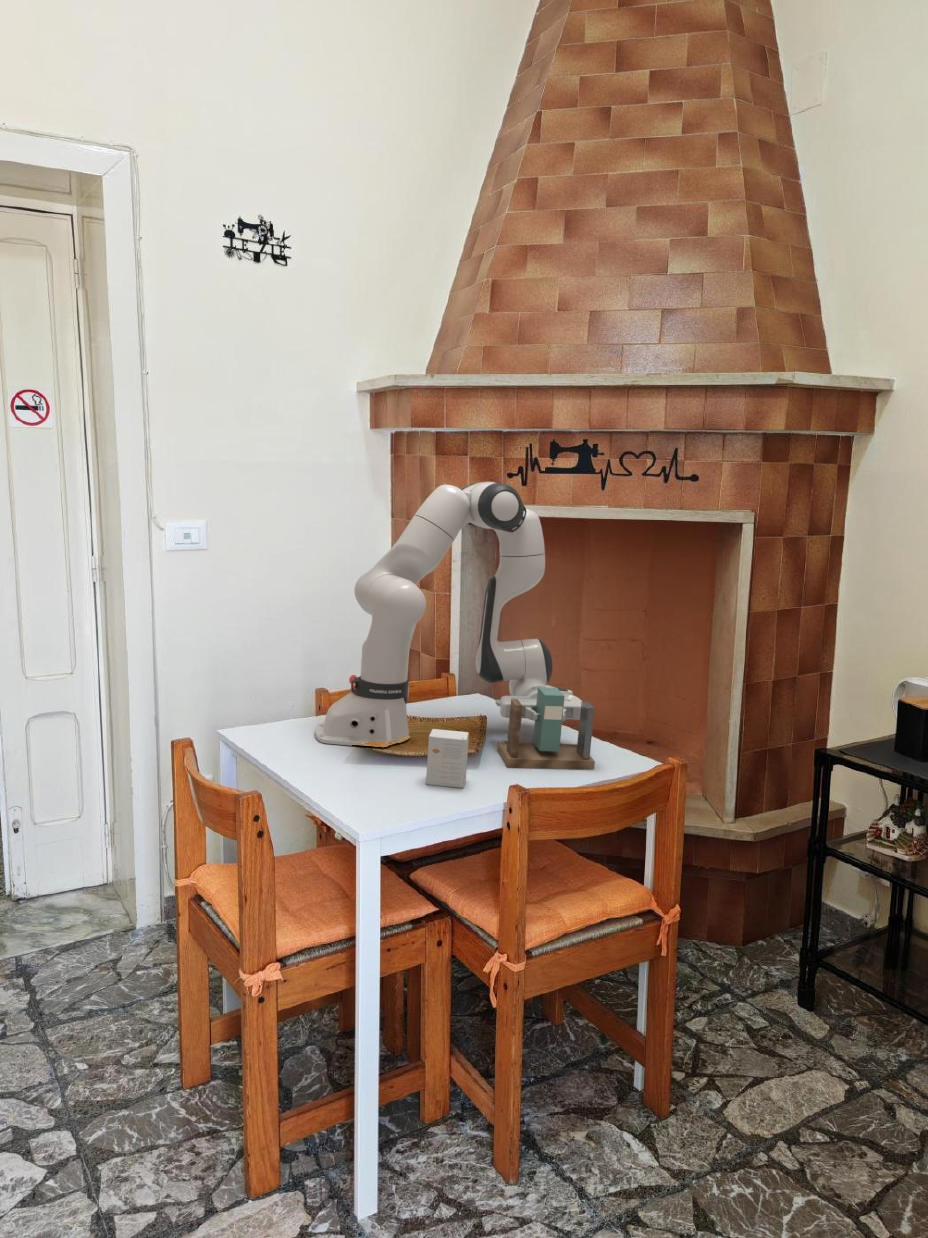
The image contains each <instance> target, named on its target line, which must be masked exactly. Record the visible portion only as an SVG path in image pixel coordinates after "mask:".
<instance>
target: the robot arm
mask: <svg viewBox="0 0 928 1238" xmlns="http://www.w3.org/2000/svg"><path fill="white" fill-rule="evenodd" d="M522 500H523V499H522V498H521V496H520V494H519V492H518V491H517V489H515V488H514V487H512V486H511V485H509V484H507V483H504V482H494V481H481V482H473V483H470V484H468V485H466V486H464V487H462V488H460V487H458V486H456V485H452V484H441V485H439V486H437V487H436V488H435V489H434V490H433V491H432V492H431V493H430V494H429V496H427V498H426V499H425V500H424V501H423V503H421V505H420V507H419V508H418V510H416V512H415V513H414V515H413V517H412V518H411V520H410V521H409V523H408V524H407V526H406V527H405V529H404V530H403V532H402V533H401V535H400V536H399V538H398V539H397V540H396V542H395V543H394V544H393V545H392V547H391V548H390V549H389V550H388V551H387V552H386V554H384V555H383V556H382V558H380V559H379V560H378V561H377V563H375V564H374V565H373V567H372V568H370V569H369V570H368V571H367V572H365V573H363V574H362V575H361V576H360V577H359V578H358V579H357V581H356V583H355V586H354V596H355V600H356V601H357V603H358V605H359V606H360V607H361V609H362V610H363V611H364V612H365V613H367V614H369V615H370V616H371V623H370V628H369V631H368V634H367V637H366V639H365V641H364V642H363V644H362V645H361V662H360V675H359V676H357V675H354V674H352V675H350V676H349V679H348V680H349V684H350V692H349V693H347V694H346V695H344V696H343V697H341V698H340V699H339V700H337V701H336V702H334V703H332V704H331V705H330V706H329V708H328V710H327V712H326V715H325V718H324V719H325V720H324V722H322V723H319V724H318V725H317V726H315V729H314V730H315V731H314V738H315V739H316V740H317V741H318V742H320V743H323V744H327V745H328V744H329V745H339V746H340V745H342V746H352V744H353V745H354V744H361V743H368V742H375V741H380V742H387V743H388V742H393V741H398V740H400V739H402V738H404V737H406V736H407V735H408V734H410V729H409V724H408V715H407V714H408V712H407V711H408V710H407V704H408V700H409V695H410V684H409V683H410V681H409V679H408V673H409V660H410V650H411V645H412V640H413V638H414V634H415V631H416V628H417V625H418V623H419V622H420V621H421V619H422V618H423V617H424V615H425V612H426V609H427V599H426V597H425V595H424V592H423V591H422V590H421V589H420V588H419V587H418V586H417V584H418V583H419V582H420V581H422V580H423V579H424V577H426V576H427V575H429V574H431V573H432V572H433V571H435V570H436V569H437V568H438V566H439V565H440V563H441V562H442V560H443V559H444V557H445V555H446V554H447V552H448V551H449V549H450V547H451V546H452V545H453V543H454V542H455V540H456V539H457V536H458V534H459V533H460V531H461V530H462V529H464V527H465V526H466V525H469V526H472V527H473V526H474V527H480V528H482V529H485V530H486V529H487V530H489V529H491V530H493V531H494V532H495V534H496V535H497V539H498V543H499V564H498V567H497V570H496V573H495V574H494V576H492V577H491V578H489V580H488V581H487V585H486V589H485V594H484V599H483V600H484V601H483V606H482V607H483V609H482V617H481V623H480V624H481V625H480V634H479V641H478V647H477V652H476V656H475V669H476V672H477V673H476V674H477V676H479V677H480V678H481V679H482V680H483V681H485V682H487V683H489V684H491V685H492V684H495V683H496V684H497V683H501V682H504V681H509V683H508V689H509V695H503V696H501V697H500V699H496V700H495V701H494V702H495V704H496V707H497V706H498V707H499V714H500V716H501V717H503V718H508V719H509V717H510V706H511V699H518V700H519V702H520V703H521V704H522V706H523V707H522V718H521V719H527V720H531V721H532V722H533V721H534V722H535V721H539V720H540V718H539V717H540V713H539V712H536V703H537V692H538V687H548V688H556V687H554V686H552V685H548V683H549V682H550V680H551V678H552V676H553V659H552V658H553V657H552V655H551V651H550V649H549V647H548V646H547V644H545V643H544V642H543V640H541V639H540V638H525V639H518V640H517V639H516V640H509V641H499V640H498V636H499V635H498V633H499V627H500V617H501V613H502V609H503V607H504V606H505V604H506V603H508V602H509V601H511V600H512V599H513V598H516V597H518V596H520V595H522V594H524V593H526V592H529V591H530V590H531V589H534V587H536V586H537V585H538V584H539V583H540V581H542V579H543V577H544V575H545V570H546V553H545V552H546V549H545V548H546V547H545V539H544V533H543V528H542V523H541V520H540V517H539V515H538V514H537V513H536V512H535V511H533V510H531V509H528V508H526V506H525V505H524V503H523V501H522ZM557 688H558V689H559V691H560V692H561V693H562V694H563V695H564V696H565V697H564V707H563V717H562V723H564V722H566V721H580V712H581V702H584V701H583V700H582V699H581V698H579V696H578V697H577V695H574V693H573V691H572V690H570V689H565V688H560V687H557ZM387 743H385V744H387Z"/></svg>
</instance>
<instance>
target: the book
mask: <svg viewBox="0 0 928 1238" xmlns="http://www.w3.org/2000/svg"><path fill="white" fill-rule="evenodd" d="M558 688H559V687H555V688H548V687H538V692H537V703H536V712H539V713H540V717H539V718H540V720H539V721H534V726H533V727H534V728H533V737H532V743H535V745H536V746H537V748H538V749H539V751H559V748H560V744H561V736H562V726H563V722H562V717H563V707H564V697H565V696H564V695H563V694H562V693H561V692H560V691H559V689H558Z"/></svg>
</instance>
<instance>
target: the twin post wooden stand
mask: <svg viewBox="0 0 928 1238" xmlns="http://www.w3.org/2000/svg"><path fill="white" fill-rule="evenodd" d="M522 707H523V706H522V704H521V703H520V702H519V700H518V699H511V706H510V717H509V718H508V730H507V731H508V732H507V740H506V742H503V741H499V742H497V749H496V750H497V752H498V754H499V757H501V759H502V761H503V763H504V765H505V766H506V768H507V769H508V768H509V769H510V768H512V769H513V768H514V769H517V768H518V769H548V770H549V769H550V770H551V769H552V770H584V769H594V770H595V764H596V761H595V759H593V757H592V756H591V755H590V758H589V760H583V759H582V758H581V757H580V755H579V754H578V753H577V752H576V751H577V744H575V743H574V744H573V743H570V744H569V743H560V748H559V751H539V749H538V748H537V746H536V745H535V743H534V742H520V740H521V739H520V738H521V727H522V719H523V718H522Z"/></svg>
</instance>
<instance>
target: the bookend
mask: <svg viewBox="0 0 928 1238" xmlns="http://www.w3.org/2000/svg"><path fill="white" fill-rule="evenodd" d="M594 717H595V707H594V706H593V705H592V704H591V703H590V702H589V701H583V702H581V712H580V720H579V721H578V723H579V724H578V732H577V733H578V734H577V742H576V743H577V751H576V752H577V753H578V754H579V755H580V757H581V758H582V759H583V760H589V758H590V756H591V747H592V746H591V745H592V740H593V739H592V737H593V730H594V729H593V727H594V720H595V718H594Z"/></svg>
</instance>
